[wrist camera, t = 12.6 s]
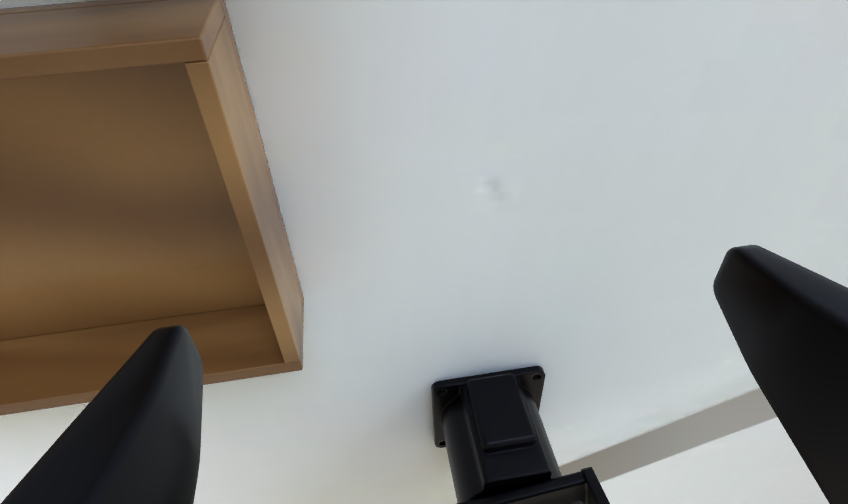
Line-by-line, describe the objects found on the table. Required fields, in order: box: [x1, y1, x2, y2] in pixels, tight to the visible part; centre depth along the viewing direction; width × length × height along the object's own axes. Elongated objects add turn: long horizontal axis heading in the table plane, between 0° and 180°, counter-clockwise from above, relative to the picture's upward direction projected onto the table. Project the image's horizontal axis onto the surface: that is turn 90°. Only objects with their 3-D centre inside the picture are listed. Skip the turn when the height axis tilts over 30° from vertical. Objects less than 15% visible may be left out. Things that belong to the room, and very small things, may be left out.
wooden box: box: [0, 0, 304, 415], centre depth 18 cm, size 13×16×4 cm
